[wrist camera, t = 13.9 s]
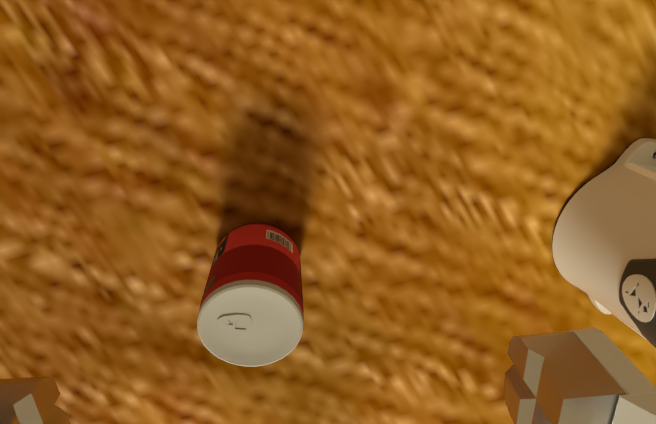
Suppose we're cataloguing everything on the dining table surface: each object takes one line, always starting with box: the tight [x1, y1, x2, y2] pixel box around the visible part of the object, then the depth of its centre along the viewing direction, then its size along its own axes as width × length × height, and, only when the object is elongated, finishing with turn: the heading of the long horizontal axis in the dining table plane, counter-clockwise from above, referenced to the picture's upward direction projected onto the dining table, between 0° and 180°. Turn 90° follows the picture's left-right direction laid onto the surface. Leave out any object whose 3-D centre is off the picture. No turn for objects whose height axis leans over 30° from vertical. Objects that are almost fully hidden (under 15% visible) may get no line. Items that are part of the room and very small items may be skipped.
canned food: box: [197, 223, 304, 367], centre depth 41 cm, size 8×8×11 cm
